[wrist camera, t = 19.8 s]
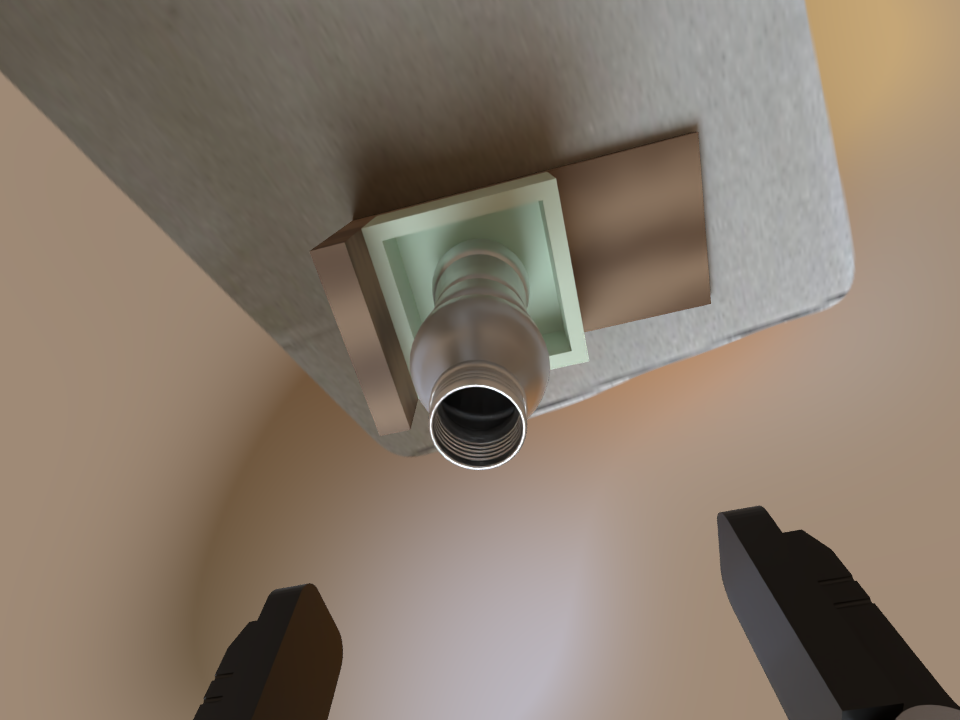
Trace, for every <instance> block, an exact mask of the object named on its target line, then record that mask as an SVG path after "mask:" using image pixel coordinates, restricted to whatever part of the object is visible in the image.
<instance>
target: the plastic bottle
mask: <svg viewBox="0 0 960 720" xmlns="http://www.w3.org/2000/svg"><path fill="white" fill-rule="evenodd" d="M432 295H433V301H434V306H435V307H434V309H433V310H432V312H431V313H430V314H429V315H428V316H427V318H426V319H425V320H424V322H423V323H422V324H421V326H420V328H419V330H418V332H417V334H416V337H415V339H414V341H413V343H412V348H411V353H410V372H411V377H412V381H413V384H414V387H415V390H416V392H417V394H418V397H419V399H420V401H421V402H422V404H423V405H424V407H425V408H426V410H427V411H428V412H429V417H428V427H429V432H430V437H431V439H432V442H433V444H434V446H435V447H436V449H437V450H438V451H439V453H440V454H441V455H443V456H444V457H445V458H446V459H447V460H449V461H450V462H452V463H453V464H456V465H458V466H460V467H463V468H467V469H472V470H486V469H492V468H496V467H498V466H501V465H503V464H505V463H507V462H508V461H509V460H511V459H512V458H513V457H514V456H515V455H516V454H517V453H518V452H519V450H520V449H521V447H522V445H523V443H524V440H525V437H526V433H527V432H526V431H527V419H528V418H529V417H530V416H531V415H532V413H533V412H534V411H535V410H536V408H537V407H538V405H539V403H540V402H541V400H542V398H543V395H544V393H545V390H546V387H547V384H548V381H549V374H550V360H549V353H548V350H547V347H546V343H545V341H544V339H543V337H542V334H541V333H540V331H539V329H538V327H537V325H536V324H535V323H534V321H533V320H532V318H531V317H530V316H529V314H528V313H527V307H528V304H529V295H530V284H529V278H528V275H527V271H526V269H525V267H524V265H523V264H522V262H521V261H520V259H519V258H518V257H517V256H516V254H515V253H513V252H512V251H511V250H510V249H508V248H507V247H506V246H504V245H502V244H500V243H498V242H496V241H493V240H489V239H481V238H478V239H470V240H467V241H464V242H461V243H459V244H458V245H456V246H454V247H452V248H451V249H450V250H449V251H447V252H446V253H445V254H444V255H443V257H442V258H441V259H440V261H439V262H438V264H437V266H436V269H435V271H434V275H433V279H432Z"/></svg>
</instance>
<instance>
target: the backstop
mask: <svg viewBox="0 0 960 720" xmlns="http://www.w3.org/2000/svg"><path fill="white" fill-rule="evenodd" d="M544 172H548V173H549V174H551V175H552V176H554V177H555V178H556V181H557V186H558V192H559V197H560V203H561V208H562V214H563V219H564V225H565V230H566V236H567V241H568V247H569V252H570V258H571V263H572V269H573V274H574V280H575V286H576V291H577V297H578V302H579V308H580V313H581V319H582V324H583V330H584V332H587V331H592V330H596V329H601V328H605V327H610V326H614V325H619V324H623V323H627V322H632V321H636V320H641V319H645V318H650V317H654V316H659V315H663V314H668V313H672V312H676V311H681V310H685V309H690V308H694V307H699V306H703V305H708V304H711V298H710V284H709V271H708V258H707V244H706V231H705V218H704V204H703V191H702V178H701V164H700V151H699V138H698V132H692V133H688V134H684V135H680V136H677V137H673V138H669V139H665V140H661V141H657V142H654V143H650V144H646V145H642V146H638V147H634V148H631V149H627V150H623V151H619V152H615V153H611V154H607V155H604V156H600V157H596V158H592V159H588V160H584V161H581V162H577V163H573V164H569V165H565V166H561V167H557V168H554V169H550V170H546V171H542V172H538V173H534V174H531V175H527V176H523V177H519V178H515V179H511V180H507V181H504V182H500V183H496V184H492V185H488V186H484V187H481V188H477V189H473V190H469V191H465V192H461V193H458V194H454V195H450V196H446V197H442V198H438V199H434V200H431V201H427V202H423V203H419V204H415V205H411V206H408V207H404V208H400V209H396V210H392V211H388V212H384V213H381V214H377V215H373V216H369V217H365V218H361V219H358V220H354V221H352V222H350V223H349V224H347V225H346V226H344V227H343V228H342V229H340V230H339V231H337V232H336V233H335V234H333V235H332V236H330V237H329V238H328V239H326V240H325V241H323V242H322V243H321V244H319V245H318V246H316V247H315V248H313V249H312V250H311V251H310V254H311V257H312V259H313V262H314V264H315V267H316V270H317V272H318V275H319V278H320V280H321V283H322V285H323V288H324V291H325V293H326V296H327V299H328V301H329V304H330V306H331V309H332V312H333V314H334V317H335V320H336V322H337V325H338V327H339V330H340V333H341V335H342V338H343V341H344V343H345V346H346V348H347V351H348V354H349V356H350V359H351V362H352V364H353V367H354V369H355V372H356V375H357V377H358V380H359V383H360V385H361V388H362V390H363V393H364V396H365V398H366V401H367V403H368V406H369V409H370V411H371V414H372V417H373V419H374V422H375V424H376V427H377V430H378V432H379V435H380V436H383V435H388V434H392V433H397V432H402V431H407V430H410V429H411V425H412V421H413V417H414V413H415V409H416V405H417V401H418V397H417V394H416V391H415V388H414V385H413V382H412V379H411V376H410V373H409V370H408V367H407V364H406V361H405V358H404V355H403V352H402V349H401V346H400V343H399V340H398V337H397V334H396V331H395V328H394V325H393V322H392V319H391V316H390V313H389V310H388V307H387V304H386V301H385V299H384V296H383V293H382V290H381V287H380V284H379V281H378V278H377V275H376V272H375V269H374V266H373V263H372V260H371V257H370V254H369V251H368V248H367V245H366V242H365V239H364V236H363V233H362V230H361V228H363V227H364V226H365V225H366V224H367V223H369V222H370V221H371V220H372V219H374V218H375V217H376V216H378V215H382V214H386V213H390V212H394V211H397V210H401V209H405V208H409V207H413V206H417V205H420V204H424V203H428V202H432V201H436V200H440V199H444V198H447V197H451V196H455V195H459V194H463V193H467V192H471V191H474V190H478V189H482V188H486V187H490V186H494V185H497V184H501V183H505V182H509V181H513V180H517V179H521V178H524V177H528V176H532V175H536V174H540V173H544Z"/></svg>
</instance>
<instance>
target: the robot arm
mask: <svg viewBox="0 0 960 720" xmlns="http://www.w3.org/2000/svg"><path fill="white" fill-rule="evenodd" d="M717 524H718V538H719V552H720V566H721V575H722V580H723V584H724V587H725V591H726V593H727V596H728V599H729V601H730V604H731V606H732V608H733V610H734V612H735V614H736V616H737V618H738V620H739V622H740V623H741V626H742V628H743V630H744V632H745V634H746V636H747V638H748V640H749V642H750V644H751V646H752V648H753V650H754V652H755V654H756V656H757V658H758V660H759V662H760V664H761V666H762V668H763V669H764V672H765V674H766V676H767V678H768V679H769V682H770V684H771V686H772V688H773V689H774V691H775V693H776V695H777V697H778V699H779V701H780V703H781V705H782V707H783V709H784V711H785V713H786V715H787V717H788V719H789V720H960V707H959V706H958V705H957V704H956V703H955V702H954V701H953V700H952V699H951V698H950V697H949V695H948V694H947V693H946V692H945V691H944V689H943V688H942V687H941V686H940V685H939V683H938V682H937V681H936V680H935V678H934V677H933V676H932V674H931V673H930V672H929V671H928V669H927V668H926V667H925V666H924V664H923V663H922V662H921V661H920V660H919V658H918V657H917V656H916V655H915V653H914V652H913V651H912V650H911V649H910V647H909V646H908V645H907V643H906V642H905V641H904V640H903V638H902V637H901V636H900V635H899V633H898V632H897V631H896V630H895V628H894V627H893V626H892V625H891V623H890V622H889V621H888V620H887V618H886V617H885V616H884V615H883V614H882V612H881V611H880V610H879V608H878V607H877V606H876V605H875V604H873V603H872V602H871V600H870V597H869V596H868V595H867V593H866V592H865V591H864V590H863V588H862V587H861V586H860V585H859V583H858V582H857V581H854V579H853V577H852V575H851V573H850V572H849V571H848V570H847V569H846V567H845V566H844V565H843V563H842V562H841V561H840V560H839V558H838V557H837V556H836V555H835V553H834V552H833V551H832V550H831V549H830V548H828V547H827V546H825V545H824V544H822V543H821V542H819V541H818V540H816V539H815V538H813V537H812V536H810V535H809V534H808V533H806V532H805V531H803V530H797V531H790V532H785V533H782V532H781V530H780V529H779V527H778V526H777V525H776V523H775V522H774V520H773V519H772V518H771V516H770V515H769V513H768V512H767V511H766V510H765V509H764V508H763V507H762V506H755V507H749V508H743V509H737V510H731V511H726V512H720V513H718V516H717ZM342 658H343V646H342V639H341V635H340V633H339V630H338V628H337V626H336V624H335V622H334V620H333V618H332V616H331V614H330V613H329V611H328V609H327V607H326V605H325V603H324V601H323V599H322V597H321V595H320V593H319V591H318V589H317V588H316V587H315V585H313V584H310V583H309V584H304V585H298V586H293V587H287V588H281V589H276V590H274V591H272V592H271V594H270V595H269V596H268V598H267V601H266V603H265V605H264V607H263V609H262V612H261V614H260V616H259V618H258V620H257V621H252V622H249V623H248V624H247V625H246V627H245V628H244V629H243V630H242V632H241V633H240V634H239V635H238V637H237V638H236V639H235V640H234V641H233V642H232V644H231V645H230V646H229V647H228V649H227V651H226V653H225V655H224V657H223V659H222V662H221V664H220V666H219V668H218V670H217V672H216V674H215V680H214V681H212V682H211V684H210V686H209V688H208V690H207V692H206V694H205V696H204V703H203V704H202V705H200V707H199V709H198V711H197V713H196V715H195V717H194V719H193V720H327V719H328V716H329V712H330V707H331V704H332V700H333V697H334V692H335V689H336V685H337V681H338V677H339V674H340V670H341V665H342Z"/></svg>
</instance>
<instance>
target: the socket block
mask: <svg viewBox="0 0 960 720" xmlns="http://www.w3.org/2000/svg"><path fill="white" fill-rule="evenodd" d="M361 230H362V233H363V236H364V239H365V242H366V245H367V248H368V251H369V254H370V257H371V260H372V263H373V266H374V269H375V272H376V275H377V278H378V281H379V284H380V287H381V290H382V293H383V296H384V299H385V301H386V304H387V307H388V310H389V313H390V316H391V319H392V322H393V325H394V328H395V331H396V334H397V337H398V340H399V343H400V346H401V349H402V352H403V355H404V358H405V361H406V364H407V367H408V370H409V373H410V376H411V372H410V353H411V348H412V343H413V341H414V339H415V337H416V334H417V332H418V330H419V328H420V326H421V324H422V323H423V322H424V320H425V319H426V318H427V316H428V315H429V314H430V313H431V312H432V310H433V309H434V307H435V306H434V301H433V295H432V279H433V275H434V271H435V269H436V266H437V264H438V262H439V261H440V259H441V258H442V257H443V255H444V254H445V253H446V252H447V251H449V250H450V249H451V248H452V247H454V246H456V245H458V244H459V243H461V242H464V241H467V240H470V239H478V238H481V239H489V240H493V241H496V242H498V243H500V244H502V245H504V246H506V247H507V248H508V249H510V250H511V251H512V252H513V253H515V254H516V256H517V257H518V258H519V259H520V261H521V262H522V264H523V265H524V267H525V269H526V271H527V275H528V278H529V284H530V295H529V304H528V307H527V313H528V314H529V316H530V317H531V318H532V320H533V321H534V323H535V324H536V325H537V327H538V329H539V331H540V333H541V334H542V337H543V339H544V341H545V343H546V347H547V350H548V353H549V360H550V370H551V369H556V368H560V367H565V366H570V365H574V364H579V363H583V362H588V361H589V357H588V352H587V346H586V341H585V335H584V330H583V324H582V319H581V313H580V308H579V302H578V297H577V291H576V286H575V280H574V274H573V269H572V263H571V258H570V252H569V247H568V241H567V236H566V230H565V225H564V219H563V214H562V208H561V203H560V197H559V192H558V186H557V181H556V178H555V177H554V176H552V175H551V174H549V173H548V172H544V173H540V174H536V175H532V176H528V177H524V178H521V179H517V180H513V181H509V182H505V183H501V184H497V185H494V186H490V187H486V188H482V189H478V190H474V191H471V192H467V193H463V194H459V195H455V196H451V197H447V198H444V199H440V200H436V201H432V202H428V203H424V204H420V205H417V206H413V207H409V208H405V209H401V210H397V211H394V212H390V213H386V214H382V215H378V216H376V217H375V218H374V219H372V220H371V221H370V222H369V223H367V224H366V225H365V226H364V227H363V228H361ZM411 379H412V377H411ZM412 382H413V381H412ZM413 385H414V384H413ZM414 388H415V387H414ZM415 391H416V390H415ZM416 394H417V392H416ZM417 397H418V394H417ZM418 399H419V397H418Z"/></svg>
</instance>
